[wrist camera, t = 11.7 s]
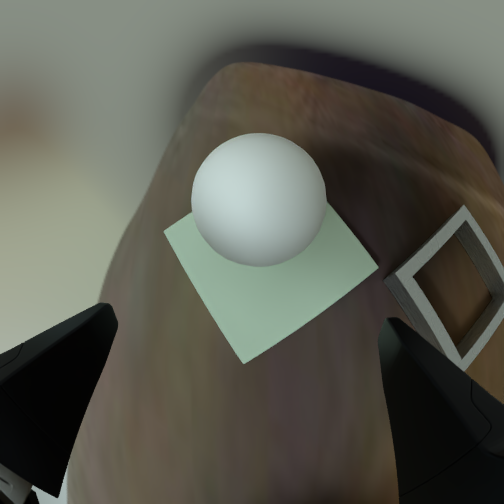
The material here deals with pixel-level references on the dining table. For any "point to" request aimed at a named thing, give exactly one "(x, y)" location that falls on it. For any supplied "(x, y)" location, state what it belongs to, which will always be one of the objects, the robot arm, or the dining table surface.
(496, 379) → the dining table surface
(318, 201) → the lightbulb
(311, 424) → the dining table surface
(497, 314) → the grey square frame
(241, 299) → the green mat
